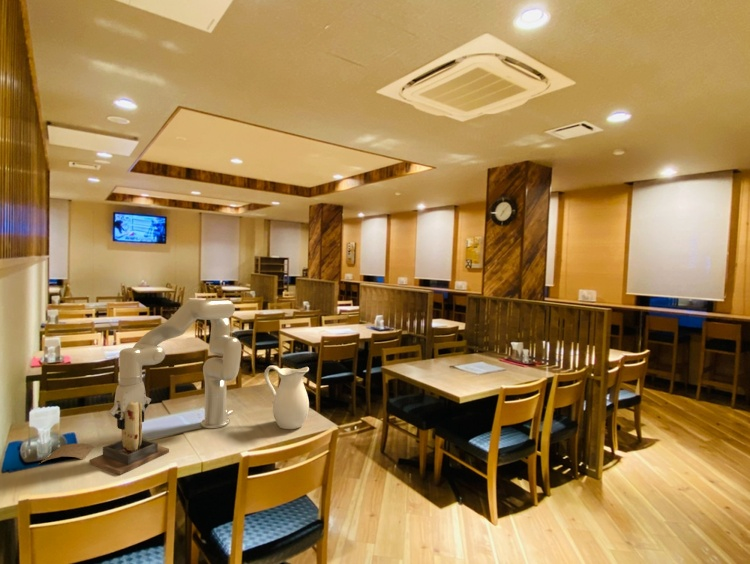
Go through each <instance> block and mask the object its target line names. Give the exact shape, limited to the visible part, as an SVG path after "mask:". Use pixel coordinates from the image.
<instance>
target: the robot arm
mask: <svg viewBox="0 0 750 564" xmlns="http://www.w3.org/2000/svg"><path fill="white" fill-rule="evenodd" d="M235 308H236V307H235V304H234V303H233V301H231V300H229V299H220V298H212V297H211V298H206V299H195V298H192V299H188V300H187V301H185V302H184V303H183V304H182V305H181V306H180V307H179V308H178V309H177V310H176V311H175V312H174V313H173V314H172V316H171V317H170V318H168V319H167V320H166V321H165V322H163V323H161V324H160V325H158V326H156V327H154V328H153V329H150V330H149V331H147V332H146V333H145V334H144V335H143V336H141V338H140V339H139V340H138V341H137V342H136V343H135V344H134V345H133V347H128V348H124V349H121V350H120V351H119V353H118V354H119V355H118V356H119V358H118V360H119V362H118V363H119V364H118V366H119V367H118V368H119V370H118V371H119V373H118V374H119V375H118V376H119V381H118V382H119V384H118V385H116V390H115V395H114V396H115V397H114V405H113V407H111V409H110V410H109V411H108V413H109V414H110V415H111V416H112V417H113V418H115V419H116V427H117V429H119V430H121V431H122V430H123V429H125V419H123V417H124V415H125V412H126V411H127V406H128V404H129V403H131V402H133V403H136V402H138V405H139V403H141V407H142V423H144V422H145V412H146V410H147V409H148V407H149V404H150V402H151V401H152V398H150V397H148V396H146V388H145V383H144V381H143V378H145V374H144V373H143V367H144V366H154V365H157V364H160V363H161V362H162V361H163V360H164V359H165V358H166V351H165V350H164V348H162V347H161V346H159V345H160V344H161V343H163V342H165V341H168V340H170V339H174V338H179V337H181V336H183V334H185V333H186V331H188V329H189V328H190V327H192V325H193V324H194V323H195V322H196V321H197V320H203V321H204V320H205V321H207V320H208V321H210V324H211V325H210V326H211V327H210V329H211V330H210V336H209V344H208V345H209V347H208V350H209V352H210V353H211V354H213V355H214V356H215V355H216V356H219V357H211V358H208V359H207V360H205V361H204V364H203V365H202V372H203V373H202V374H203V378H204V419H203V420H202V421H201V422H200V426H201V427H202V428H204V429H219V428H223V427H225V426H227V425H229V423H230V418H229V416H230V415H232V414H234V410H232V409H230V410H227V382H231V381H234V380H235V379H236V378H237V377H238V374H239V371H240V366H241V364H240V363H241V356H242V343H241V341H240V340H239V338H237V337H234V336H231V322H230V318H231V317H232V316H233V315H234V313H235V311H236V309H235ZM116 411H117V412H116Z"/></svg>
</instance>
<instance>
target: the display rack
mask: <svg viewBox="0 0 750 564" xmlns="http://www.w3.org/2000/svg"><path fill="white" fill-rule="evenodd" d="M169 453H170V448H168V447H165V446H162V445H159V444H158V442H154V441H151V440H148V439H145V438H142V439H141V446H140V447H138V448H137V450H136V451H133V452H127V451H125V449H124V447H123V441H122V439H120V440H118V441H115V442H114V443H113V442H112V443H110V444H108V445H106V446H103V447H102V454H100V455H97V456H95V457H93V458H90V459H89V460H88V462H89V465H92V466H94V467H97V468H100V469H102V470H105V471H108V472H110V473H113V474H116V475H119V476H121V475H122V476H123V475H124V474H126V473H128V472H130V471H132V470H135V469H136V468H139V467H141V466H143V465H145V464H148V463H149V462H152V461H154V460H155V459H158V458H160V457H162V456H164V455H166V454H169Z"/></svg>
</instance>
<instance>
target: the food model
mask: <svg viewBox="0 0 750 564" xmlns="http://www.w3.org/2000/svg"><path fill="white" fill-rule="evenodd" d="M123 419H125V429H123V430H122V429H121V440H122V441H123V447H124V449H125V451H127V452H133V451H136V450H137V448H138V447H140V446H141V439H143V437H142V436H143V435H142V434H143V422H142V407H141V403H139V405H138V402H136V403H133V402H131V403H129V404H128V406H127V411H126V412H125V415H124V417H123Z"/></svg>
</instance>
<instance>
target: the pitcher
mask: <svg viewBox="0 0 750 564" xmlns="http://www.w3.org/2000/svg"><path fill="white" fill-rule="evenodd" d="M270 370H274V371H275V372H276V373H277V374H278V376H279V378H280V383H279V386H278V388H277V390H275V388H274V386H273V384H272V383H271V381H270V377H269V372H270ZM309 371H310V368H309V367H308V366H305V367H302V368H301V367H300V368H298V369H293V368H289V367H286V368H285V367H283V368H280V367H279V366H278V365H269V366H267V367H266V369H264V375H263V376H264V380H265V383H266V385H267V387H268V388H269V390H270V391H271V394H272V396H273V401H272V413H273V418H274V420H275V422H276V424H277V426H278V427H279V428H281V429H283V430H296V429H299V428H301V427H302V426H304V424H305V422H306V421H307V418H308V414H309V409H310V401H309V396H308V395H309V394H308V392H307V390H306V387H305V384H304V380H303V379H304V378H303V377H304V376H305V374H306V373H308V372H309Z"/></svg>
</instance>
